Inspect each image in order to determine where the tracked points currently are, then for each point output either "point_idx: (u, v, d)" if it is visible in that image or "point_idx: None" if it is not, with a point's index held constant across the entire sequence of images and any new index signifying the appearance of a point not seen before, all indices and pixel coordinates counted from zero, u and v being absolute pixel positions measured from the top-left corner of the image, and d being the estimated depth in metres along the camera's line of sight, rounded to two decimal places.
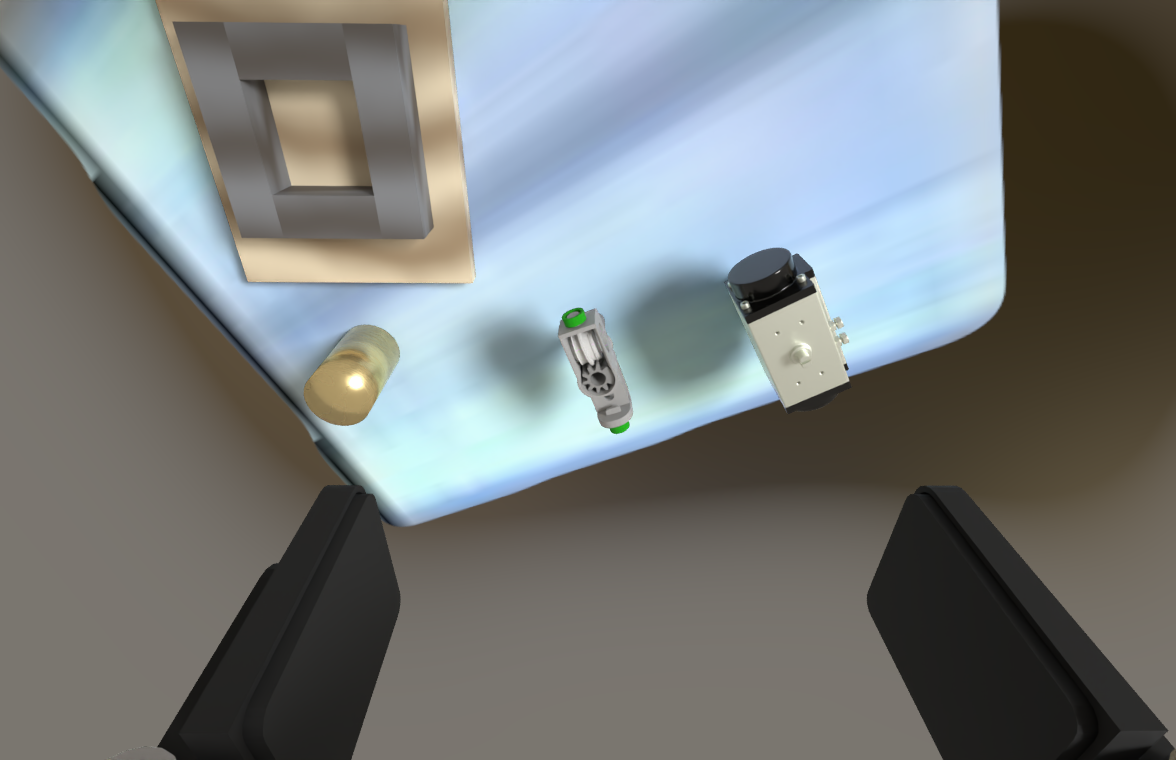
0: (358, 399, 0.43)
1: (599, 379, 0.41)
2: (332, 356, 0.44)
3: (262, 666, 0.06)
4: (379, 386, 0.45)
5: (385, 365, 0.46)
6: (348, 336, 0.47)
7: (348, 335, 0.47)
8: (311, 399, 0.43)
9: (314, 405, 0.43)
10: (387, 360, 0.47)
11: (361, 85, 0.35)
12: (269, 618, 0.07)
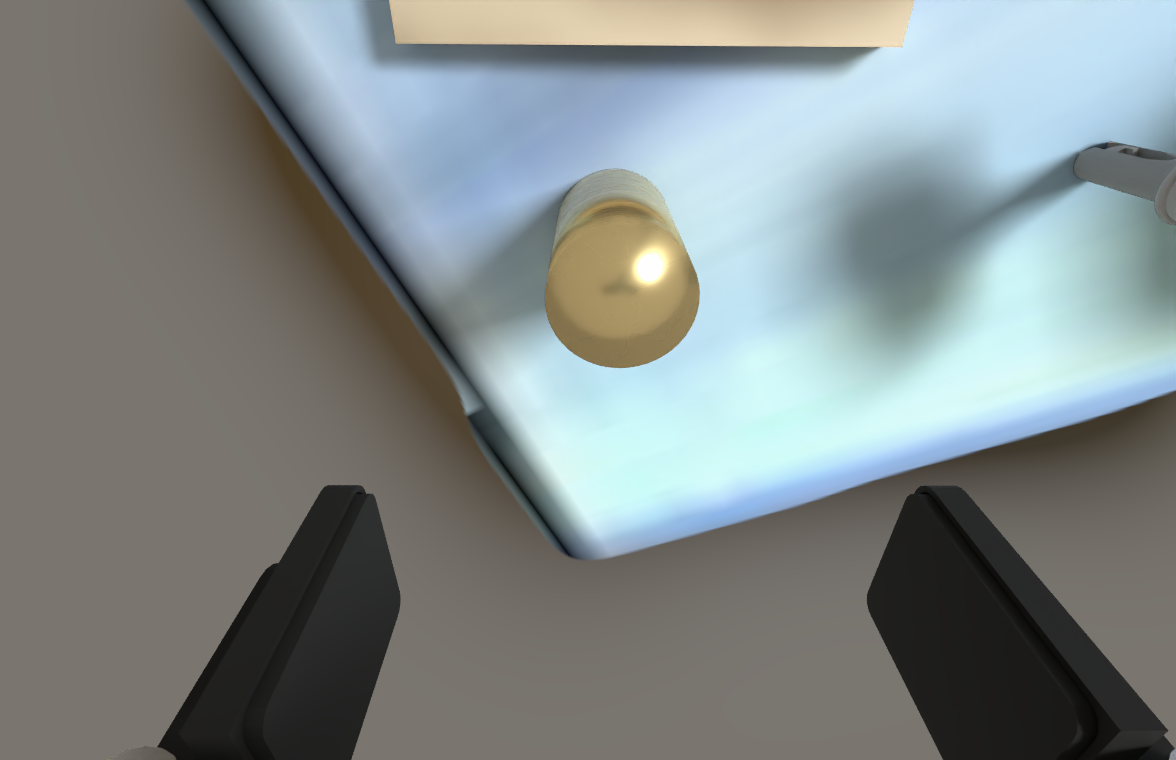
0: (672, 302, 0.18)
1: None
2: (597, 206, 0.19)
3: (262, 666, 0.06)
4: None
5: None
6: (596, 183, 0.22)
7: (593, 182, 0.22)
8: (560, 302, 0.18)
9: (563, 317, 0.18)
10: None
11: None
12: (269, 618, 0.07)
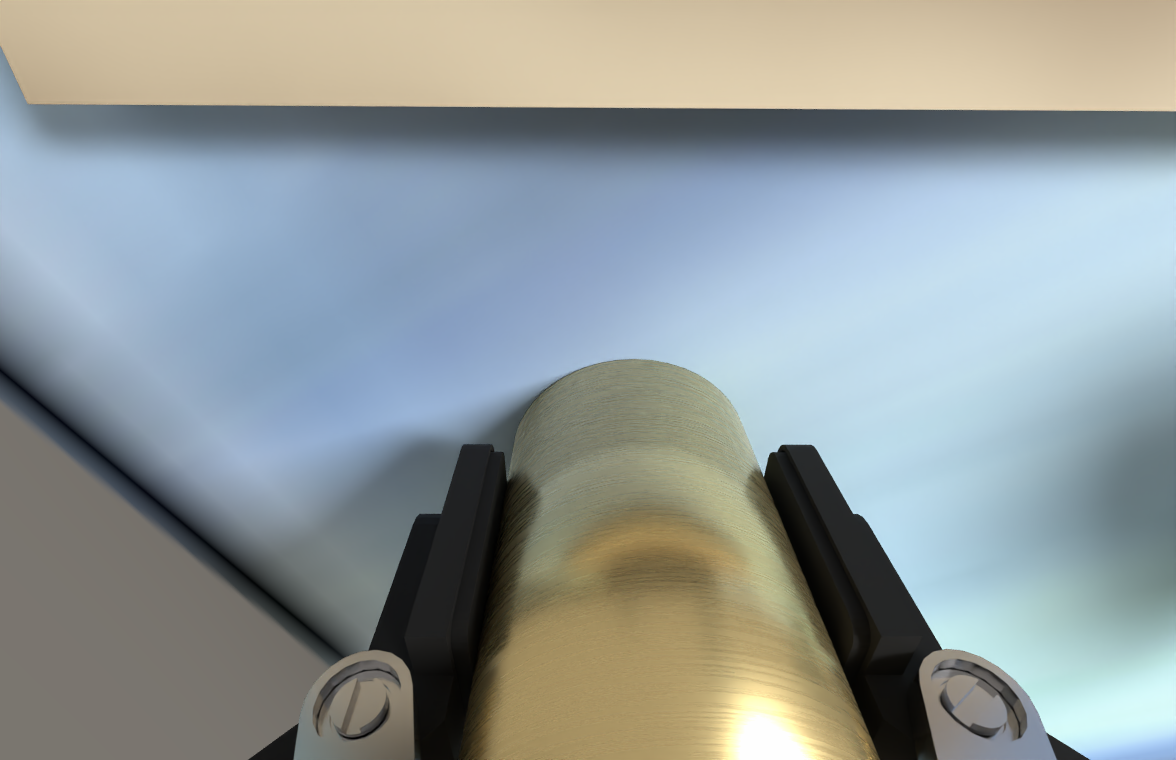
0: None
1: None
2: (599, 612, 0.06)
3: (457, 587, 0.07)
4: None
5: None
6: (594, 426, 0.09)
7: (588, 418, 0.09)
8: None
9: None
10: None
11: None
12: (450, 550, 0.08)
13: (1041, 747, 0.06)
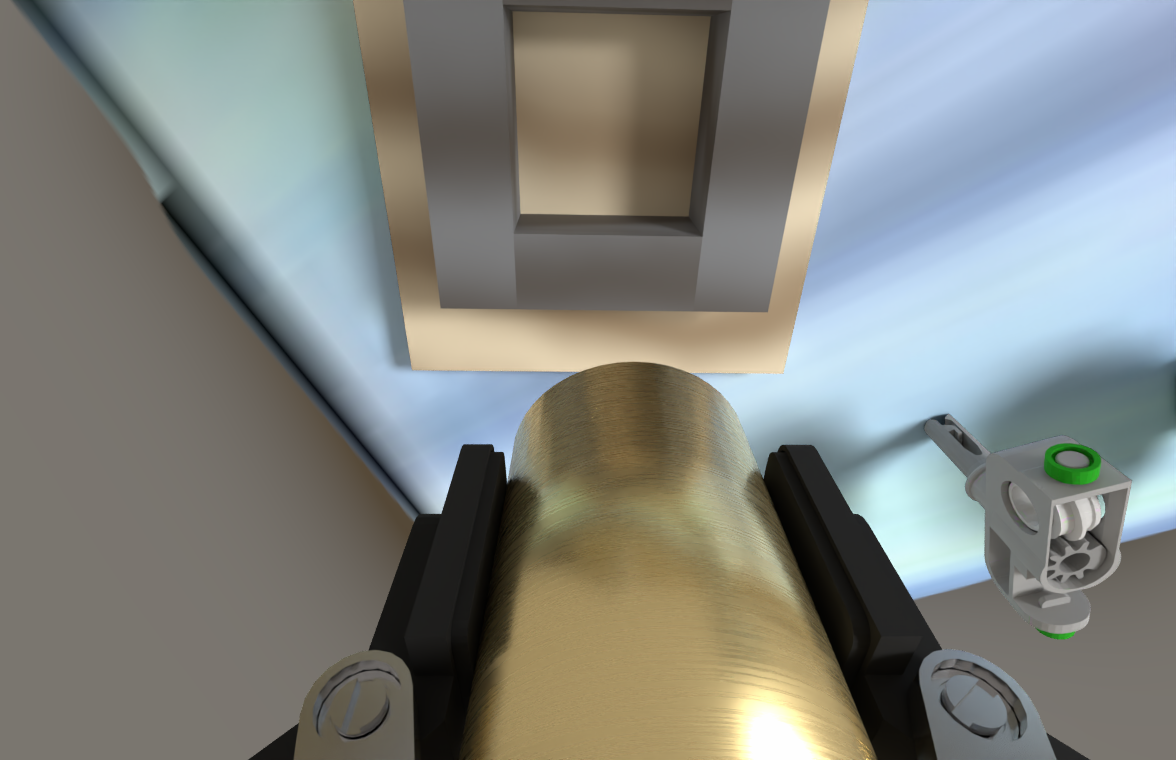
0: None
1: None
2: (598, 616, 0.06)
3: (456, 587, 0.07)
4: None
5: None
6: (593, 428, 0.09)
7: (587, 421, 0.09)
8: None
9: None
10: None
11: (746, 21, 0.17)
12: (450, 550, 0.08)
13: (1041, 746, 0.06)
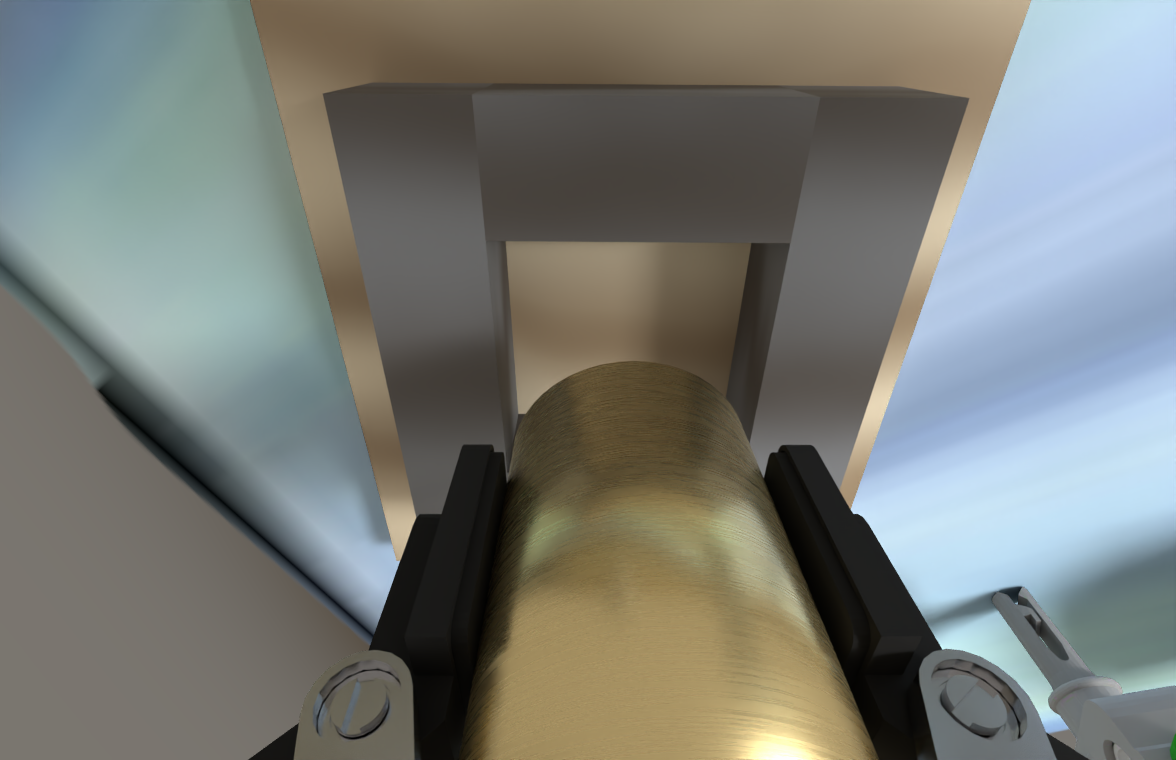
0: None
1: None
2: (599, 616, 0.06)
3: (457, 586, 0.07)
4: None
5: None
6: (594, 428, 0.09)
7: (588, 420, 0.09)
8: None
9: None
10: None
11: (809, 254, 0.13)
12: (450, 550, 0.08)
13: (1041, 747, 0.06)
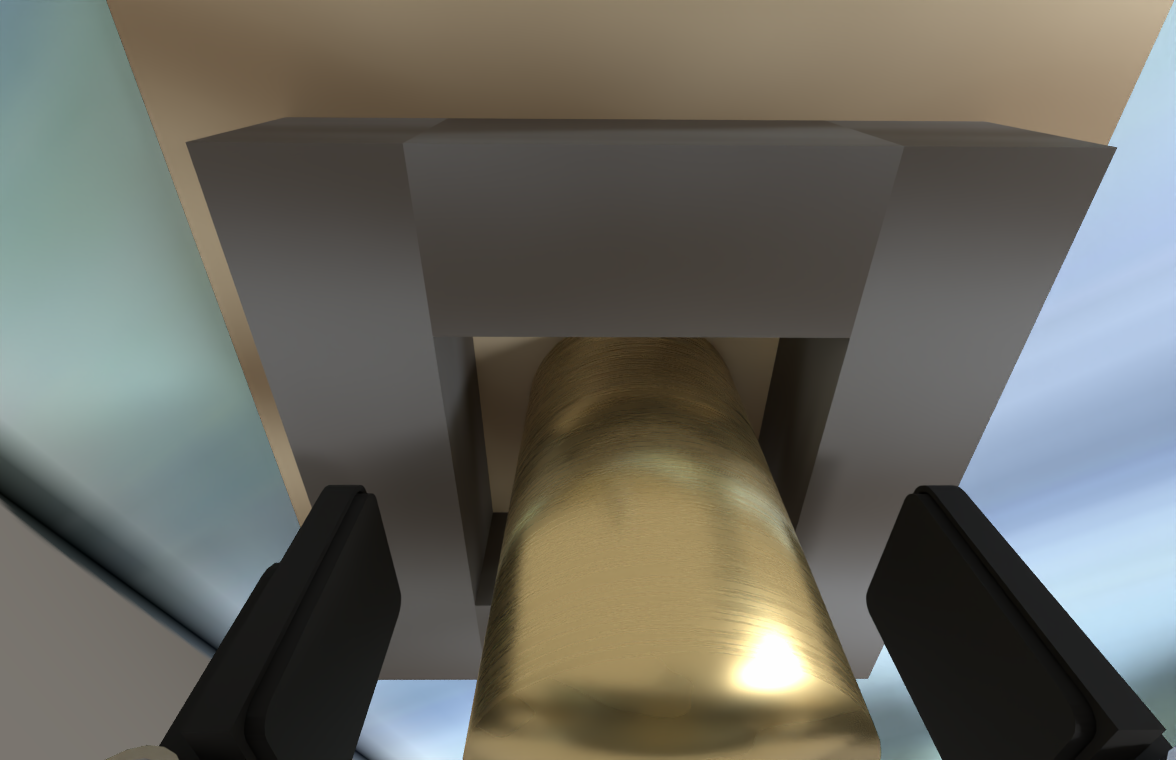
0: None
1: None
2: (605, 487, 0.08)
3: (264, 666, 0.06)
4: None
5: None
6: (602, 363, 0.11)
7: (597, 358, 0.11)
8: None
9: None
10: None
11: (875, 351, 0.09)
12: (270, 617, 0.07)
13: None
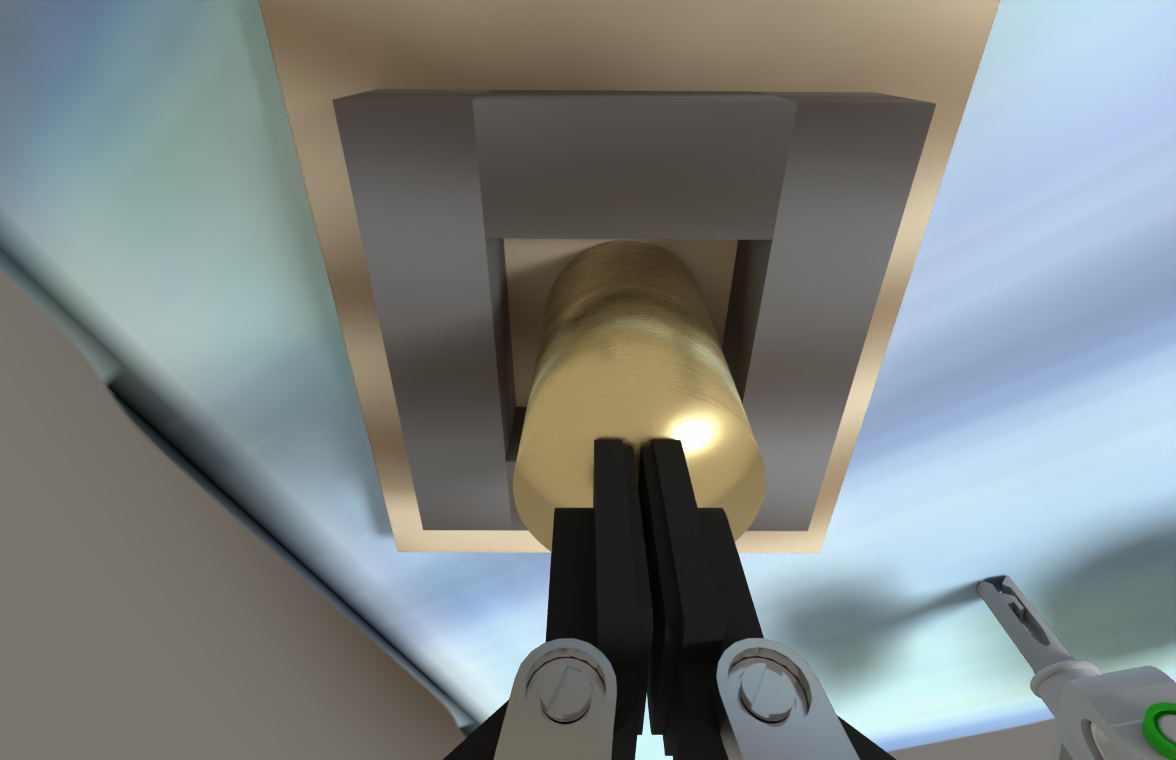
0: (719, 499, 0.11)
1: None
2: (606, 327, 0.12)
3: (635, 577, 0.07)
4: None
5: None
6: (605, 268, 0.15)
7: (601, 265, 0.15)
8: (537, 489, 0.11)
9: (541, 509, 0.11)
10: None
11: (791, 250, 0.14)
12: (616, 541, 0.08)
13: (826, 710, 0.06)
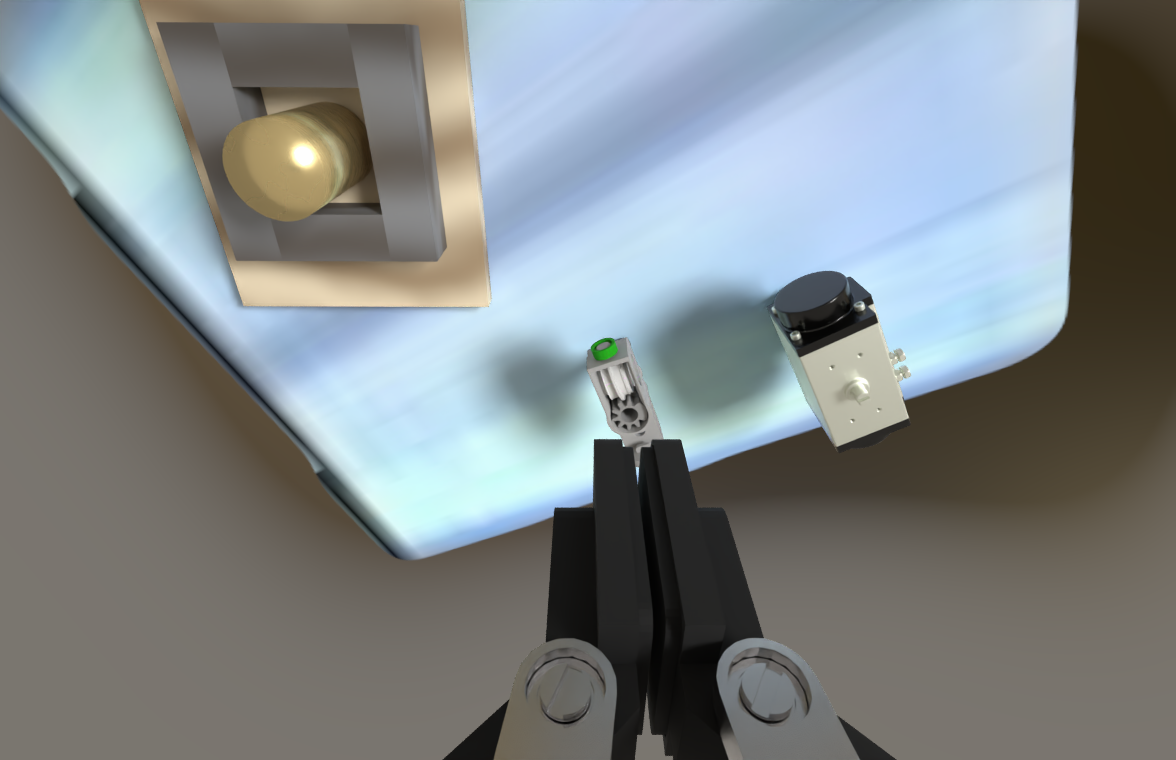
0: (306, 174, 0.28)
1: (630, 414, 0.37)
2: None
3: (634, 577, 0.07)
4: (341, 171, 0.30)
5: (352, 150, 0.32)
6: None
7: None
8: (234, 170, 0.28)
9: (238, 181, 0.28)
10: (355, 146, 0.32)
11: (368, 93, 0.31)
12: (615, 541, 0.08)
13: (826, 709, 0.06)
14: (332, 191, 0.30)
